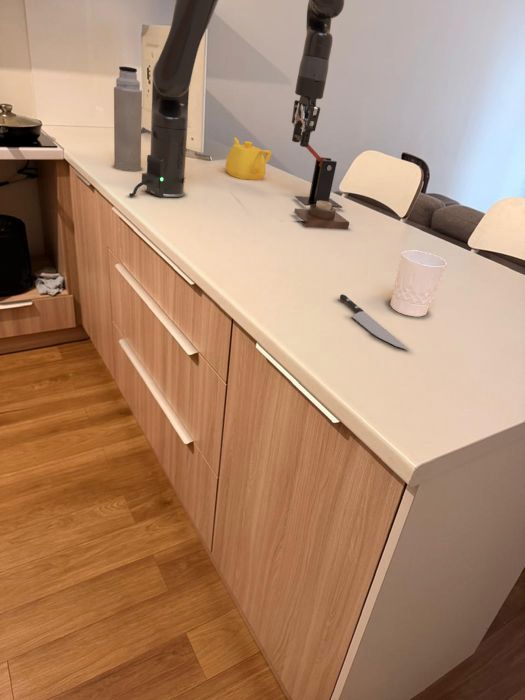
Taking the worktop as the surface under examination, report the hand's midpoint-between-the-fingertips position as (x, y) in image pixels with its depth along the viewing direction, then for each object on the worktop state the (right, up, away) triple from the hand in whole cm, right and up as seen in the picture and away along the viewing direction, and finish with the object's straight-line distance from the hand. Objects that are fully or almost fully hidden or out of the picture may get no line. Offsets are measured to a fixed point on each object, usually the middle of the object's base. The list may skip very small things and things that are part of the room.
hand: (299, 144), depth 141 cm
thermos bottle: (-53, 0, +18) cm, 56 cm away
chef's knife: (+7, -53, -55) cm, 77 cm away
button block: (+5, -23, -5) cm, 24 cm away
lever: (+3, -2, +3) cm, 5 cm away
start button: (+6, -20, -7) cm, 22 cm away
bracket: (+6, -14, +11) cm, 19 cm away
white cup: (+17, -50, -47) cm, 71 cm away
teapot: (-15, +3, +34) cm, 37 cm away
